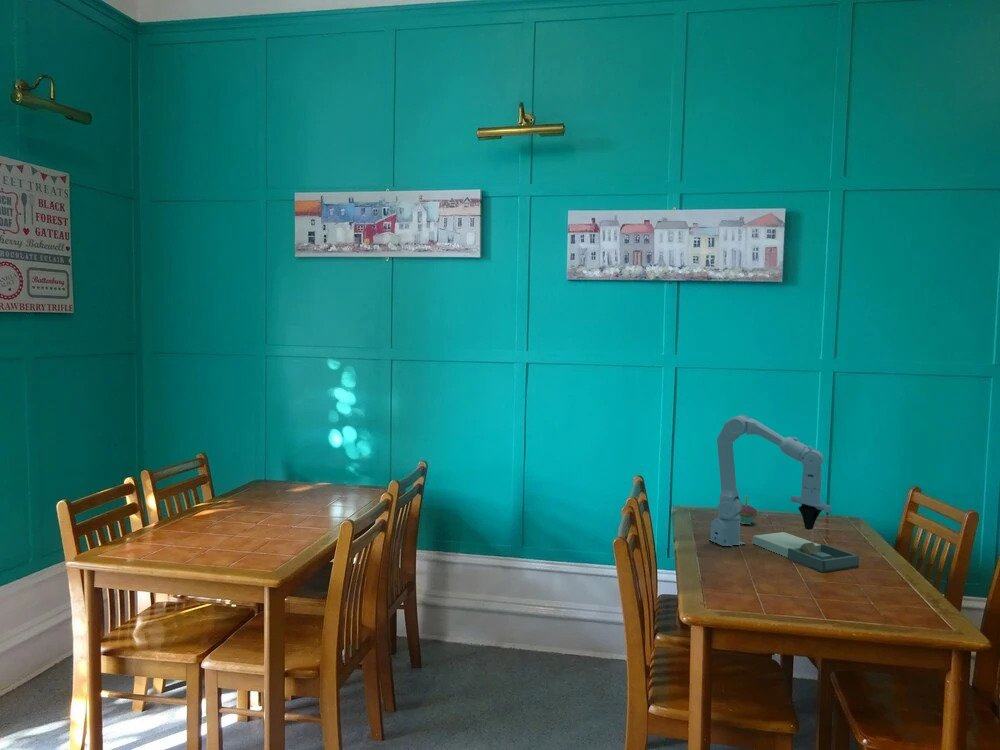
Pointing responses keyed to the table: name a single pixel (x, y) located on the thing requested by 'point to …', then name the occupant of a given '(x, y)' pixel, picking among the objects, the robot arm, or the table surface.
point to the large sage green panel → (781, 542)
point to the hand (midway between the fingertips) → (808, 528)
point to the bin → (837, 562)
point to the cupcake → (747, 513)
